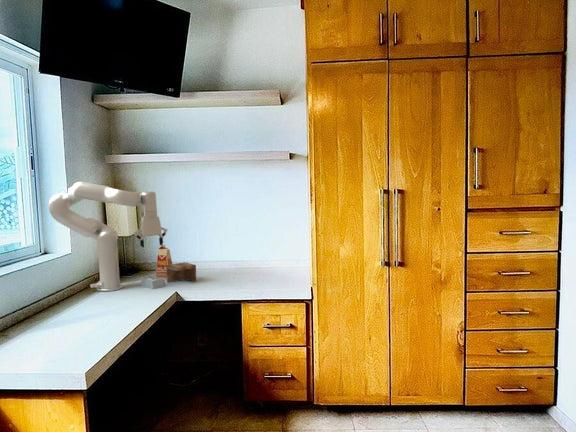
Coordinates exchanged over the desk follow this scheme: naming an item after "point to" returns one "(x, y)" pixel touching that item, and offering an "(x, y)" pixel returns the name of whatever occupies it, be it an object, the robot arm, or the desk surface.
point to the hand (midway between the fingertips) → (152, 246)
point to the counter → (181, 272)
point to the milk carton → (163, 262)
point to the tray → (152, 282)
